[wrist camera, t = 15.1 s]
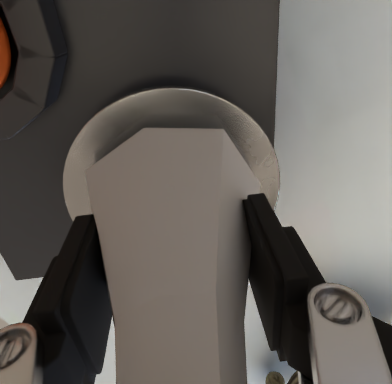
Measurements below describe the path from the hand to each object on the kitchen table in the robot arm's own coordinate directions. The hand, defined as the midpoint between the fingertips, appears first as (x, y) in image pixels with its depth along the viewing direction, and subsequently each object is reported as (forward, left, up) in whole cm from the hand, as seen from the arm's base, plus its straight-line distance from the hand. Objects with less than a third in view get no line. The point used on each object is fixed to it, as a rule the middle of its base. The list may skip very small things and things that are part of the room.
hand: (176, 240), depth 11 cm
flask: (0, 0, -3) cm, 3 cm away
